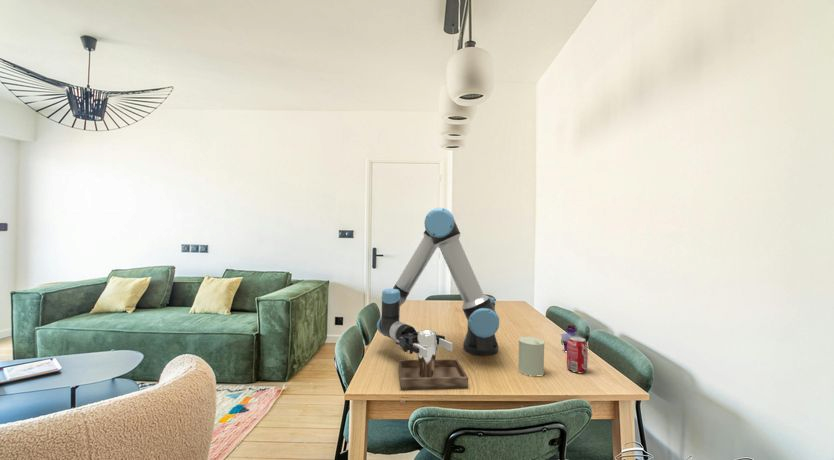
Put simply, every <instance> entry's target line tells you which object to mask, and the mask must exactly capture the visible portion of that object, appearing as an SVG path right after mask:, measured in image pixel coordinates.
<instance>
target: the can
mask: <svg viewBox="0 0 834 460" xmlns="http://www.w3.org/2000/svg"><path fill="white" fill-rule="evenodd" d="M517 371H518V372H519V373H520V372H521V373H520V374H522V373H523V374H522V375H524V374H526V375H525V376H527V375H531V376H530V377H532V376H537V375H542V374H544V375H545V341H544V340H543V339H541V338H538V337H533V336H520V337H519V338H518V367H517Z"/></svg>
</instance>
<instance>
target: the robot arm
mask: <svg viewBox="0 0 834 460" xmlns="http://www.w3.org/2000/svg"><path fill="white" fill-rule="evenodd" d="M424 229H425V230H424V232H423V237H422V239H421V241H420V243H419V244H418V246H417V247H416V249H415V251H414V253H413V254H412V256H411V258H410V259H409V261H408V263H407V264H406V265H405V267H404V269H403V271H402V273H401V274H400V276H399V278H398V279H397V281H396V282H395V285H394V286H393V288H386V289H383V290H382V292H381V294H382V295H381V316H380V318H379V319H378V320H377V322H376V328H377V329H376V330H377V331H378V333H380V334H381V335H383V336H384V337H387V338H389V339H391V340H393V341H395V342H396V343H395V344H396V345H398V346H399V347H400V349H401V350H402V351H403V352H404V353H408V352H409V354H410V355H412V354H413V353H415V354H417V355H418V354H419V355H421V356H422V357H424V358H427V349H426V348H424V347H422V346H419V345H417V335H418V332H419V331H416V329H415V328H414V327H413V326H412V325H409V324H407V323H405V322H402V321H400V317H401V316H400V312H401V307H402V305H403V304H404V303H405V302H406V300H407V298H408V296H409V294H410V293H411V291H412V289H413V288H414V287H415V284H416V283H417V281H418V280H419V279H420V276H421V275H422V273H423V272H424V270H425V269H426V266H427V264H429V261H430V260H431V258H432V257H433V255H434V254H435V252H436V250H437V249H438V248H439V250H440V252H441V255H442V257H443V259H444V261H445V263H446V266H447V268H448V271H449V273H450V275H451V277H452V280H453V282H454V284H455V286H456V288H457V291H458V293H459V295H460V297H461V300H462V303H463V304H462V307H461V309H462V311H463V314H464V315H465V318H466V321H467V331H466V334H465V337H464V340H463V343H462V349H463V350H464V351H465V352H467V353H469V354H472V355H477V356H478V355H479V356H492V355H495V354H497V353H498V352H499V344H498V341H497V337H496V333H497V332H498V330H499V328H500V317H499V315H498V313H497V311H496V300H495V298H494V297H491V296H489V295H487V294H484V292H483V290H482V288H481V285H480V284H479V281H478V278H477V277H476V275H475V272H474V269H473V267H472V266H471V263H470V261H469V258H468V257H467V255H466V253H465V249H464V248H463V246H462V244H461V241H460V236H461V232H460V230H459V228H458V225H457V223H456V220H455V218H454V215H453V214H452V212H451V211H450V210H448V209H447V208H445V207H436V208H433V209H431V210H430V211H428V213H426V216H425V218H424ZM436 336H437V346H438V347H440V348H443V349H445V350H447V351H449V352H453V351H454V350H453V348H454V347H453V346H454V345H453V342H451V341H448V340H446V337H445V336H444V335H442V334H441V335H440V334H436Z"/></svg>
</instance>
